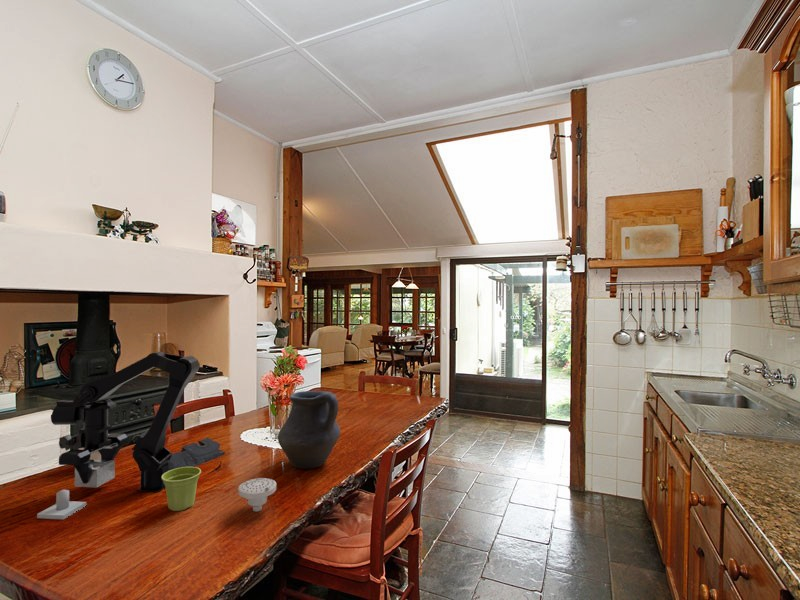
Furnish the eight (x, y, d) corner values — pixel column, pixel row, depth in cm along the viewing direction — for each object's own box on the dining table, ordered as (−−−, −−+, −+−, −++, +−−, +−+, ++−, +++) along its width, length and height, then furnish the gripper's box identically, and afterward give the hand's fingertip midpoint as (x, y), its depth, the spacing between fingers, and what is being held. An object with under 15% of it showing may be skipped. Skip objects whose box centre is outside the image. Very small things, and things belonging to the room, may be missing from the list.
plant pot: (156, 517, 106) (157, 482, 106) (165, 500, 115) (166, 468, 116) (197, 512, 109) (197, 478, 109) (203, 496, 118) (203, 464, 118)
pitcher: (308, 448, 157) (309, 381, 157) (355, 460, 146) (356, 388, 146) (264, 467, 139) (265, 391, 139) (314, 482, 128) (315, 399, 128)
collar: (114, 477, 124) (114, 460, 124) (96, 487, 118) (97, 469, 118) (93, 476, 125) (93, 459, 125) (74, 486, 118) (74, 468, 118)
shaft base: (86, 505, 112) (86, 484, 112) (63, 519, 105) (63, 496, 105) (61, 504, 112) (61, 483, 112) (37, 518, 105) (37, 495, 105)
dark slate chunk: (143, 468, 138) (143, 453, 138) (200, 447, 158) (200, 434, 158) (175, 476, 132) (176, 461, 132) (230, 453, 152) (230, 440, 152)
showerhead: (252, 493, 104) (231, 482, 110) (252, 523, 104) (231, 510, 110) (285, 481, 111) (263, 471, 118) (284, 509, 111) (263, 497, 118)
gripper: (95, 414, 131) (94, 464, 131) (39, 432, 113) (39, 491, 113) (129, 415, 131) (128, 466, 131) (79, 434, 112) (78, 493, 112)
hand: (95, 478), depth 121 cm, fingers closed on collar, 7 cm apart
